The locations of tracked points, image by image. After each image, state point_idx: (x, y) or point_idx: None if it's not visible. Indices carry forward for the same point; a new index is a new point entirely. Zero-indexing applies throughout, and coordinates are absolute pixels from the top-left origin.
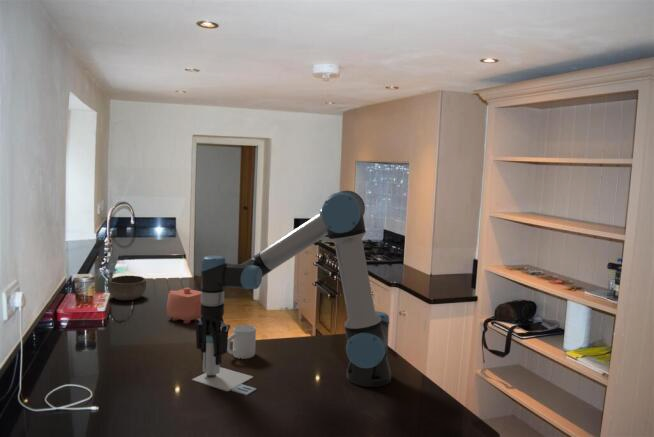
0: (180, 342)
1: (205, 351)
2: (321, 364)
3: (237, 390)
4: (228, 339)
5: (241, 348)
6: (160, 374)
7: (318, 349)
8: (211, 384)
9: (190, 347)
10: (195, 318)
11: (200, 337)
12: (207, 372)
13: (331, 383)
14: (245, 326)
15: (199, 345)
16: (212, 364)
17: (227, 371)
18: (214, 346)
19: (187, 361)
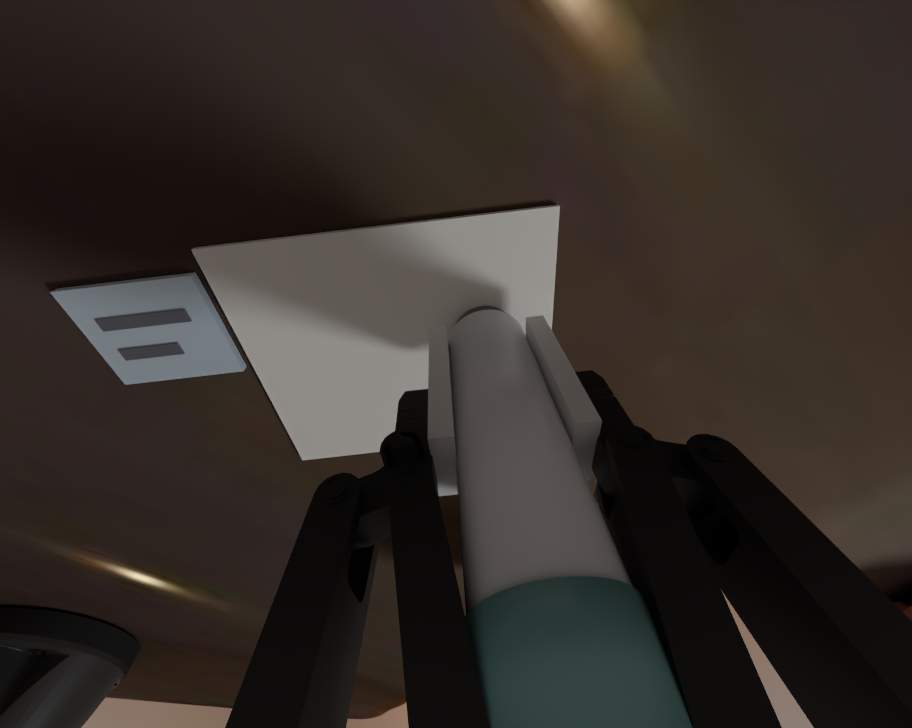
0: (895, 485)
1: (596, 450)
2: (251, 622)
3: (152, 293)
4: None
5: None
6: (879, 99)
7: (365, 656)
8: (370, 242)
9: (818, 480)
10: (906, 610)
11: (792, 610)
12: (488, 318)
13: (54, 577)
14: None
15: (707, 479)
16: (458, 375)
17: None
18: (437, 551)
19: (757, 381)
